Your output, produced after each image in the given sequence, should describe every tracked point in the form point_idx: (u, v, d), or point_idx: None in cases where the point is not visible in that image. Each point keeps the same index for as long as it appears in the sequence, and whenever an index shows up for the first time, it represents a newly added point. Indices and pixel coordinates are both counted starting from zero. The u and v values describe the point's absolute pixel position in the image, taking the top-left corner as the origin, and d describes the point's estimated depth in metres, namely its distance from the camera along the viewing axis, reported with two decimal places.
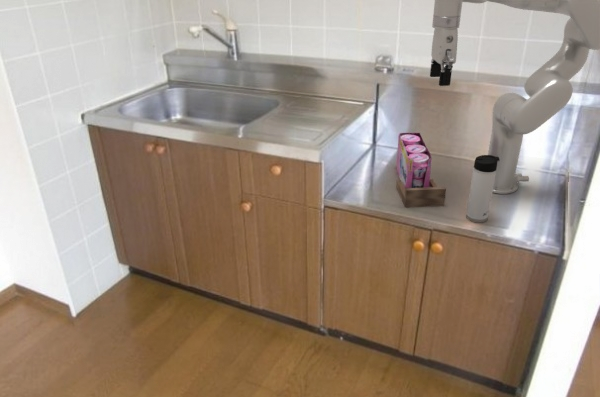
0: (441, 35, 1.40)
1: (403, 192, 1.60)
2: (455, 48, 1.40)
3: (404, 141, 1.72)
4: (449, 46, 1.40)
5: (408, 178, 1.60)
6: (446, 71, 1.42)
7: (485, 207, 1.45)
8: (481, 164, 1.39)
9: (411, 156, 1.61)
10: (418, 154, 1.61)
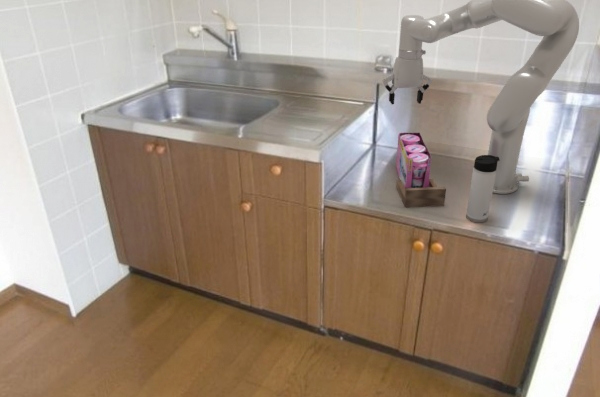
0: (421, 64, 1.68)
1: (403, 192, 1.60)
2: None
3: (404, 141, 1.72)
4: None
5: (408, 178, 1.60)
6: None
7: (485, 207, 1.45)
8: (481, 164, 1.39)
9: (411, 156, 1.61)
10: (418, 154, 1.61)
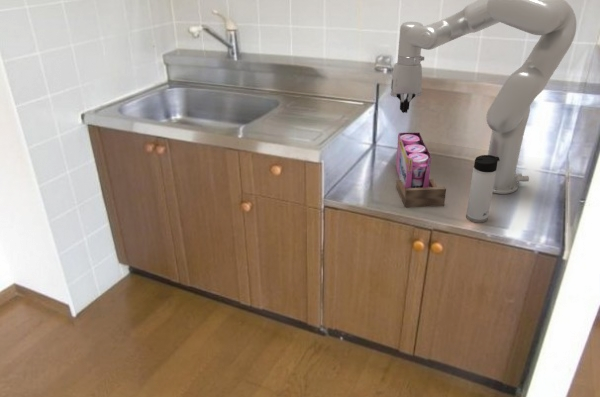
0: (420, 70, 1.69)
1: (403, 192, 1.60)
2: None
3: (404, 141, 1.72)
4: None
5: (408, 178, 1.61)
6: None
7: (485, 207, 1.45)
8: (481, 164, 1.39)
9: (411, 156, 1.61)
10: (418, 154, 1.61)
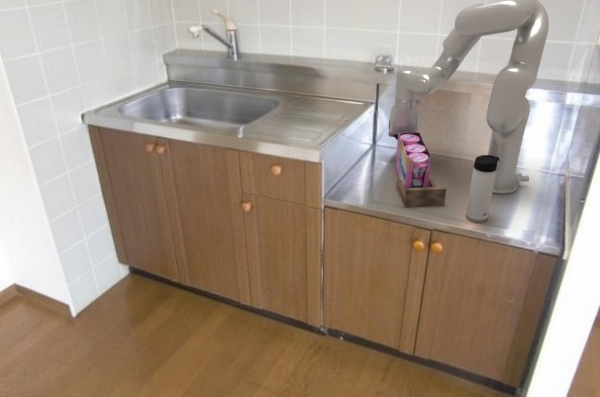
0: (416, 112, 1.76)
1: (403, 192, 1.60)
2: None
3: (404, 141, 1.72)
4: None
5: (408, 178, 1.61)
6: None
7: (485, 207, 1.45)
8: (481, 164, 1.39)
9: (411, 156, 1.61)
10: (418, 154, 1.62)
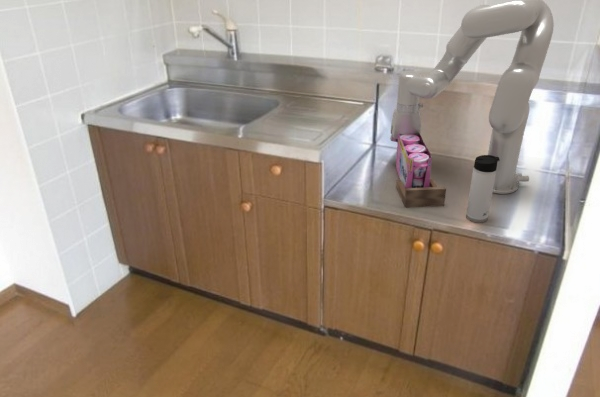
0: (418, 117, 1.73)
1: (403, 192, 1.60)
2: None
3: (404, 141, 1.72)
4: None
5: (408, 178, 1.60)
6: None
7: (485, 207, 1.45)
8: (481, 164, 1.39)
9: (411, 156, 1.60)
10: (418, 154, 1.61)
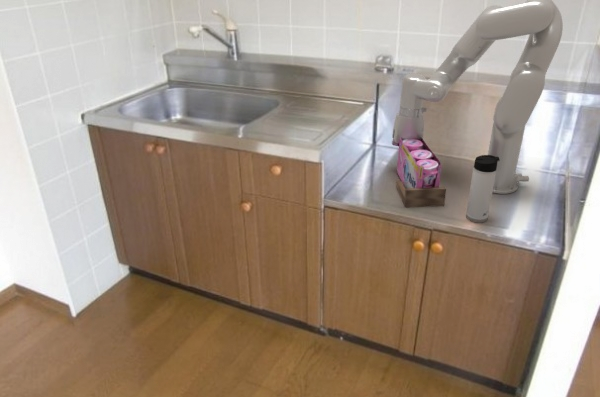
0: (421, 121, 1.68)
1: (403, 192, 1.60)
2: None
3: (407, 146, 1.66)
4: None
5: (418, 186, 1.55)
6: None
7: (485, 207, 1.45)
8: (481, 164, 1.39)
9: (419, 163, 1.55)
10: (426, 160, 1.56)
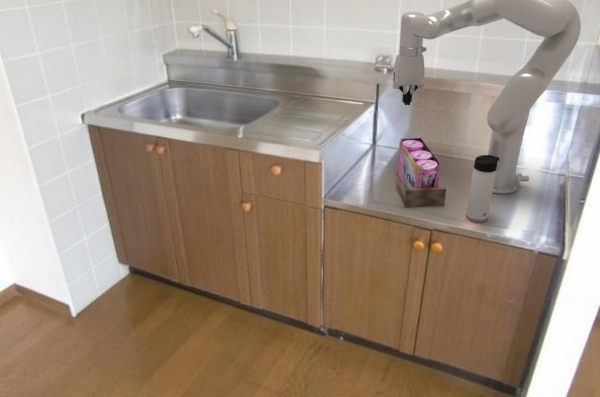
0: (422, 61, 1.67)
1: (403, 192, 1.60)
2: None
3: (407, 147, 1.67)
4: None
5: (417, 186, 1.55)
6: None
7: (485, 207, 1.45)
8: (481, 164, 1.39)
9: (419, 163, 1.56)
10: (425, 161, 1.57)
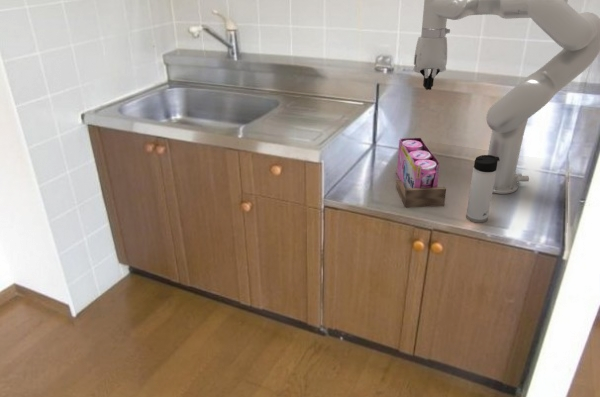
0: (445, 43, 1.60)
1: (403, 192, 1.60)
2: None
3: (406, 147, 1.67)
4: None
5: (416, 186, 1.56)
6: None
7: (485, 207, 1.45)
8: (481, 164, 1.39)
9: (418, 163, 1.56)
10: (424, 160, 1.57)
